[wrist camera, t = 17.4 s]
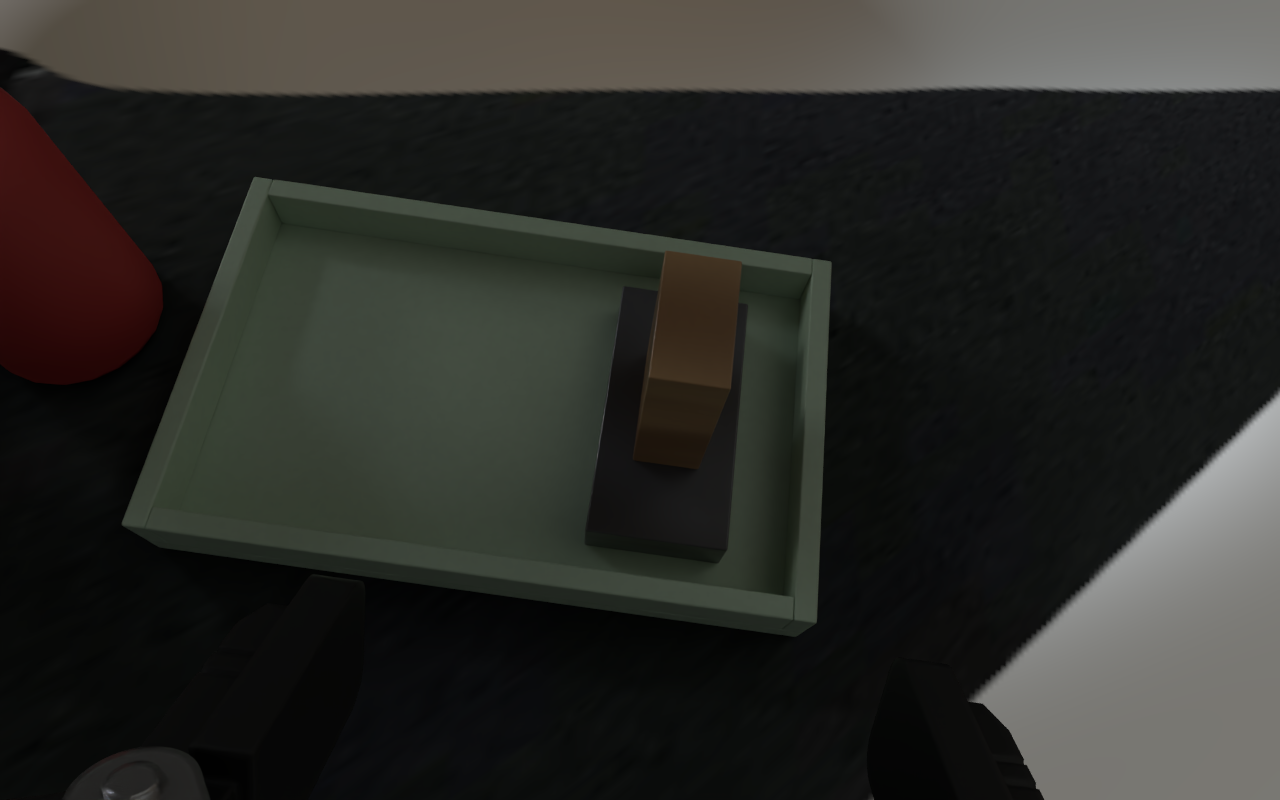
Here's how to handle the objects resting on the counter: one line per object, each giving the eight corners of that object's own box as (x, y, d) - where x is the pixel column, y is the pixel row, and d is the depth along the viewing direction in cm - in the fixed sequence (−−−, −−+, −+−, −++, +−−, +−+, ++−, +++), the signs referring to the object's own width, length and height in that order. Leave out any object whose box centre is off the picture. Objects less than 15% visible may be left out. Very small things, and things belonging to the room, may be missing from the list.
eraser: (719, 564, 32) (769, 488, 24) (584, 545, 32) (588, 462, 24) (739, 327, 36) (789, 193, 28) (620, 310, 36) (634, 170, 28)
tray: (158, 547, 32) (119, 525, 29) (276, 219, 38) (253, 175, 35) (796, 637, 32) (817, 623, 29) (813, 298, 38) (832, 261, 35)
